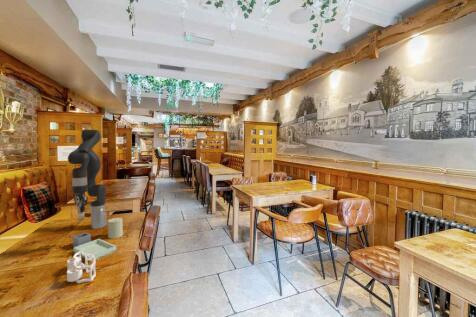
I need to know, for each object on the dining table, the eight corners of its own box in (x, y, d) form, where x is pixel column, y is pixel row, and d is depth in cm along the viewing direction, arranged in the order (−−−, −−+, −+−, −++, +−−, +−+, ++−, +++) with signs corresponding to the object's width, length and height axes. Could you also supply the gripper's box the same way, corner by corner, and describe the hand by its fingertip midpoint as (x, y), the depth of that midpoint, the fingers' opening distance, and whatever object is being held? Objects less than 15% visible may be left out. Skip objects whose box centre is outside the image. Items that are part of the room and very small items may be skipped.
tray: (98, 243, 135) (98, 238, 135) (116, 250, 125) (116, 246, 125) (73, 252, 123) (73, 247, 123) (90, 262, 113) (90, 256, 113)
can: (109, 239, 140) (108, 222, 139) (106, 235, 147) (106, 218, 146) (124, 236, 146) (124, 219, 145) (121, 232, 153) (121, 216, 152)
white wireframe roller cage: (67, 268, 107) (67, 254, 107) (93, 261, 114) (93, 248, 114) (67, 289, 92) (66, 273, 91) (97, 279, 99) (96, 264, 98)
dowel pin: (83, 218, 133) (82, 203, 133) (85, 219, 132) (85, 204, 131) (76, 220, 130) (76, 204, 130) (79, 221, 129) (78, 205, 128)
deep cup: (85, 241, 137) (85, 232, 136) (91, 244, 133) (90, 234, 133) (73, 246, 131) (72, 236, 130) (78, 248, 127) (78, 238, 127)
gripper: (92, 184, 130) (93, 211, 131) (81, 182, 137) (82, 208, 138) (78, 186, 123) (79, 215, 124) (67, 184, 130) (68, 211, 131)
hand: (81, 211), depth 131 cm, fingers closed on dowel pin, 3 cm apart
